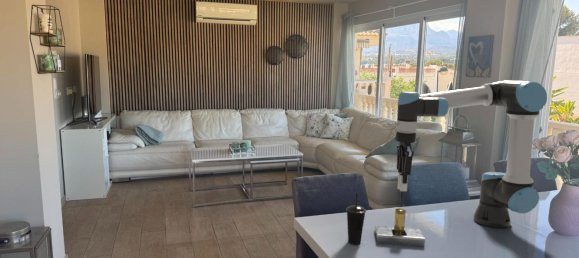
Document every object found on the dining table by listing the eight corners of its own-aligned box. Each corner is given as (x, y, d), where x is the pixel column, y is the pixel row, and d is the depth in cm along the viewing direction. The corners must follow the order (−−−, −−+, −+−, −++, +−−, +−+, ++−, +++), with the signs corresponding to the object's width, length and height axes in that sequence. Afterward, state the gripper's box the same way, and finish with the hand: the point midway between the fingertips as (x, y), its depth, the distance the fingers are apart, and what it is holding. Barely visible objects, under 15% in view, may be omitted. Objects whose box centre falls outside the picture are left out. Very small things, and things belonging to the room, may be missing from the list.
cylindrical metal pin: (402, 236, 170) (404, 208, 168) (404, 240, 166) (406, 212, 164) (392, 236, 171) (394, 208, 169) (393, 240, 167) (395, 211, 165)
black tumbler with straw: (366, 240, 165) (369, 192, 162) (361, 248, 159) (364, 197, 156) (347, 236, 169) (350, 189, 166) (342, 244, 162) (344, 194, 159)
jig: (418, 234, 173) (419, 226, 173) (424, 246, 161) (425, 238, 161) (374, 231, 175) (375, 223, 175) (377, 243, 164) (377, 235, 163)
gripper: (390, 128, 169) (387, 184, 173) (402, 134, 154) (398, 195, 158) (409, 128, 169) (405, 184, 173) (422, 135, 154) (418, 195, 158)
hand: (402, 189), depth 165 cm, fingers open, 2 cm apart
